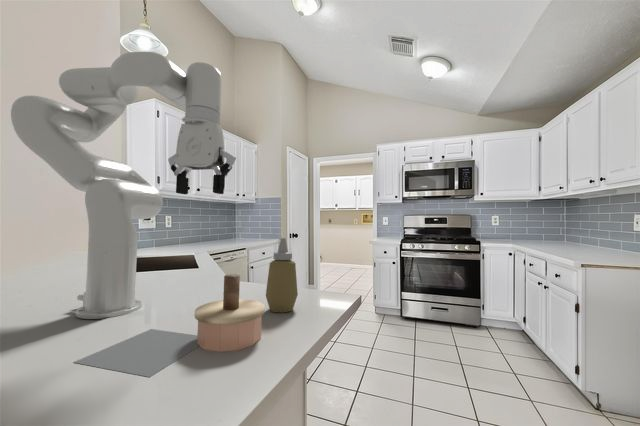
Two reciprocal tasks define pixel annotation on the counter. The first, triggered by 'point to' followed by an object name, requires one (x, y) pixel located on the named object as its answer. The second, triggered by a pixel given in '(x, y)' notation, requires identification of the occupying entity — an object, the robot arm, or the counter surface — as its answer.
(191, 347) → the mat
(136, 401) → the counter surface
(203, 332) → the bowl
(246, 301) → the lid
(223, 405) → the counter surface
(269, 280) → the squeeze bottle
